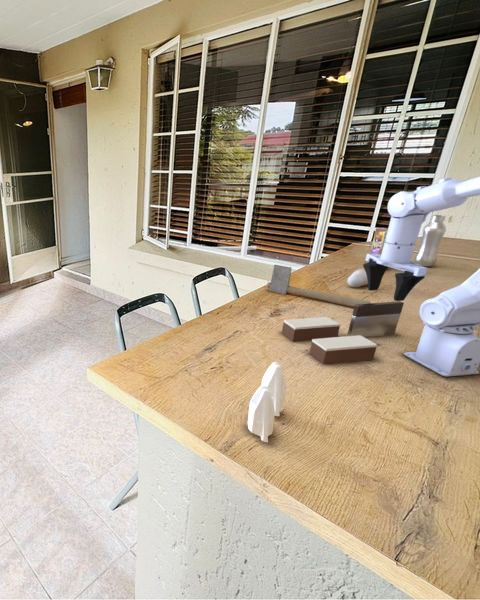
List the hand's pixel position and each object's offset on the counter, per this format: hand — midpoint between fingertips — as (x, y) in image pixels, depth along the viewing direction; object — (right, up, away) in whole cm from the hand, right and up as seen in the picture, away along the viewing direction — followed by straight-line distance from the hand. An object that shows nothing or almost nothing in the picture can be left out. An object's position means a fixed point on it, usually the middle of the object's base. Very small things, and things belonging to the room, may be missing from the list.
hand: (385, 294), depth 90 cm
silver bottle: (+61, +12, +52) cm, 81 cm away
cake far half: (-17, -11, +4) cm, 21 cm away
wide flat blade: (-2, -11, +2) cm, 11 cm away
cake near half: (-17, -15, -7) cm, 23 cm away
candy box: (+44, +12, +54) cm, 71 cm away
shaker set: (-44, -24, -25) cm, 56 cm away
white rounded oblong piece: (+23, +4, +37) cm, 44 cm away
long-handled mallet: (-1, -1, +26) cm, 26 cm away
